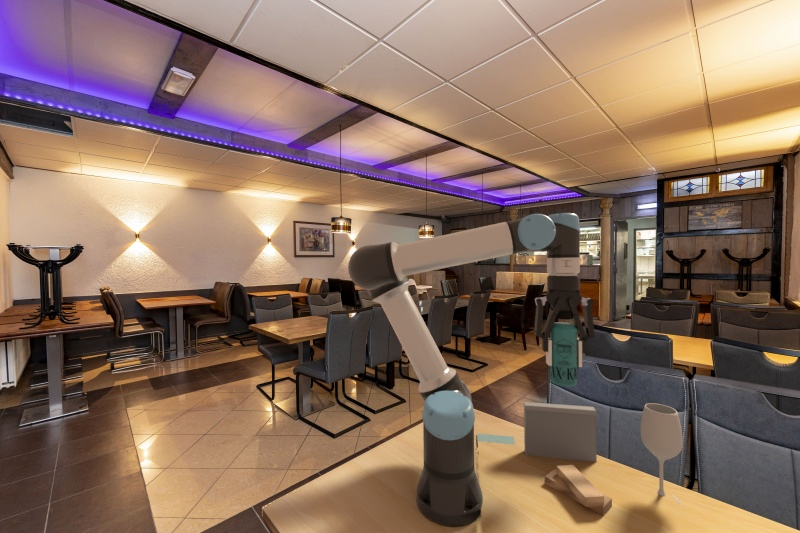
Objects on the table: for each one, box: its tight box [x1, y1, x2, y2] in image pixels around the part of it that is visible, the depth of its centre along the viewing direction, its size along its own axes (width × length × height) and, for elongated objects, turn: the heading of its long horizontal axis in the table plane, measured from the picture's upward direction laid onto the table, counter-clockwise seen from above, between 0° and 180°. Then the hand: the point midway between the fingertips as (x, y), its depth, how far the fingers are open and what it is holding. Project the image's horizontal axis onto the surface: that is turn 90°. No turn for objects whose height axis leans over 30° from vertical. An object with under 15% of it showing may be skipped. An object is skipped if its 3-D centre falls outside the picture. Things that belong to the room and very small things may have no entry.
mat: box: [476, 433, 516, 455], centre depth 99 cm, size 11×11×1 cm
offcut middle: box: [544, 469, 613, 517], centre depth 76 cm, size 13×4×2 cm, turn 37°
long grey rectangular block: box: [523, 401, 598, 463], centre depth 91 cm, size 18×2×15 cm, turn 78°
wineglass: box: [640, 402, 684, 507], centre depth 76 cm, size 8×8×21 cm
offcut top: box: [556, 464, 605, 508], centre depth 75 cm, size 11×4×2 cm, turn 5°
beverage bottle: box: [548, 311, 579, 387], centre depth 84 cm, size 6×7×20 cm
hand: (563, 364), depth 84 cm, fingers closed on beverage bottle, 6 cm apart
